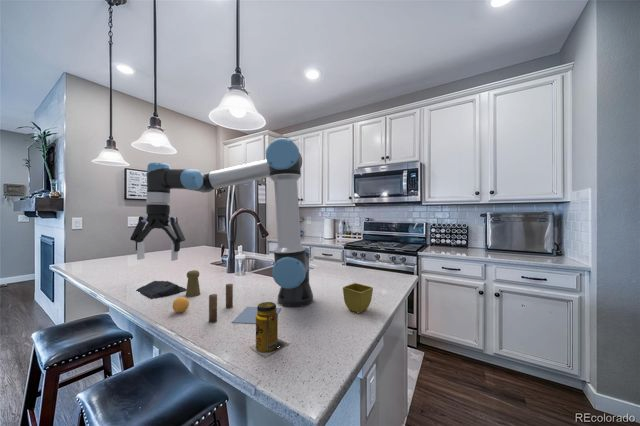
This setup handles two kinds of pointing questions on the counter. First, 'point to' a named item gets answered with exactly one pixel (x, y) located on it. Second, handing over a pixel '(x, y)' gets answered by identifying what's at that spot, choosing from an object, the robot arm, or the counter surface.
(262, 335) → the condiment
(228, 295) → the post
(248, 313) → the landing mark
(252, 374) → the counter surface
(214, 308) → the post
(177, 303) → the ball
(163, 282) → the dark slate chunk
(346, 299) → the flower pot
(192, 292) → the cork
